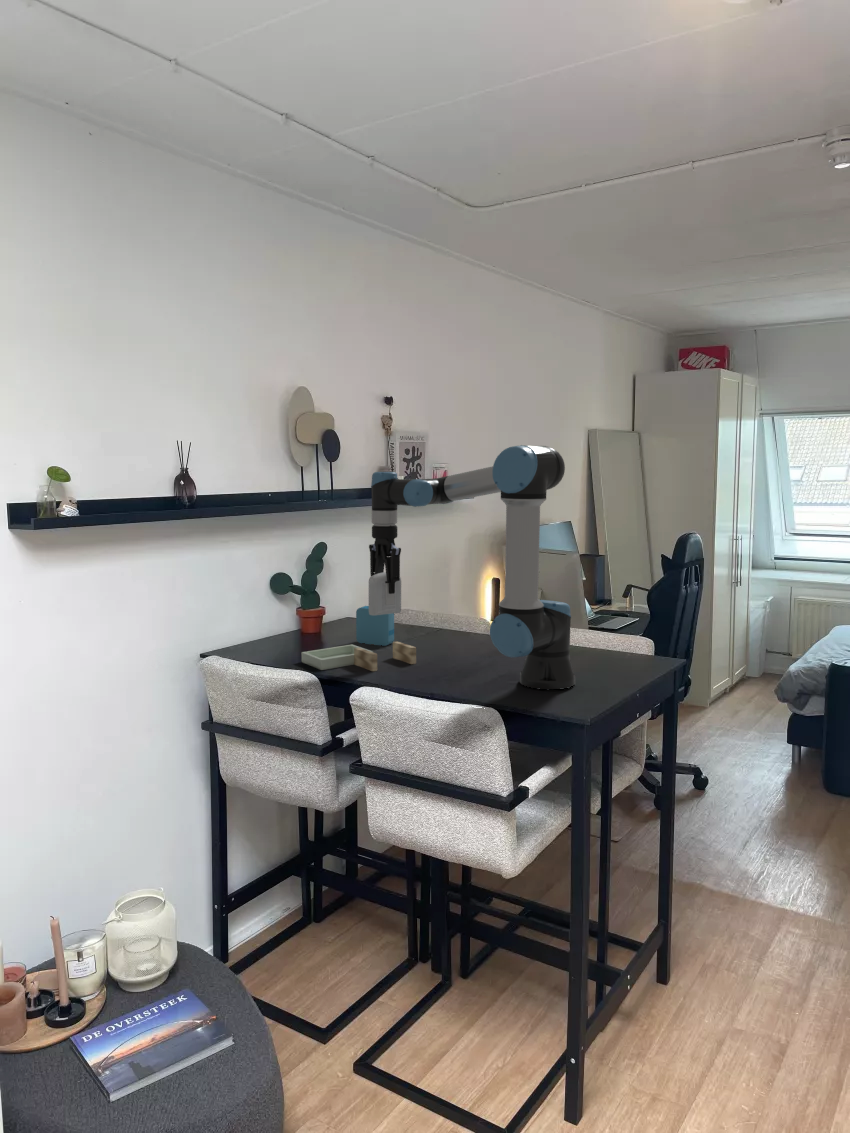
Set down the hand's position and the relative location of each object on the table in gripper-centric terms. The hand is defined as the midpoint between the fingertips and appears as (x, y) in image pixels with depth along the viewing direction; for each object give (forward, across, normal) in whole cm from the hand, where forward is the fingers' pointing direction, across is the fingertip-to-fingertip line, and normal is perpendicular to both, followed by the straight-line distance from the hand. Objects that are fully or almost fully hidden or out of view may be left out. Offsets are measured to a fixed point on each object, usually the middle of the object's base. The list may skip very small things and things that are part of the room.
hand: (385, 603), depth 252 cm
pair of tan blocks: (+19, 0, 0) cm, 19 cm away
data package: (+19, +25, -13) cm, 34 cm away
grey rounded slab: (+3, 0, 0) cm, 3 cm away
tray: (+19, +11, +10) cm, 24 cm away
